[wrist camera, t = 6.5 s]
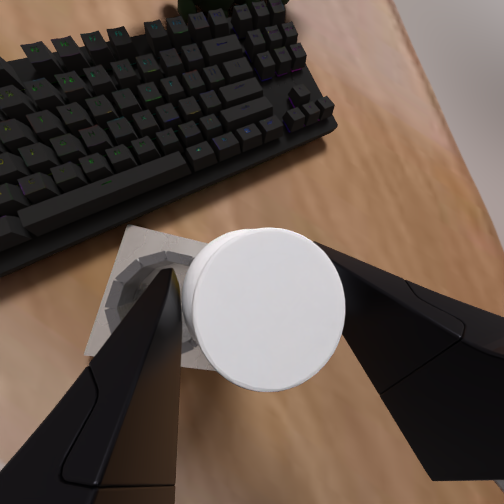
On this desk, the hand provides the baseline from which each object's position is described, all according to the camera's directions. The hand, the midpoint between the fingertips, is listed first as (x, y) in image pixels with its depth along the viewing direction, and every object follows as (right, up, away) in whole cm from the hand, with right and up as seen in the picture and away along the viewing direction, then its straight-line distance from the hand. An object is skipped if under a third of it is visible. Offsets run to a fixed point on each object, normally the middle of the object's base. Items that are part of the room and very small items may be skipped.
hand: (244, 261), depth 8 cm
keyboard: (-11, +13, +14) cm, 22 cm away
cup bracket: (-8, -4, +12) cm, 14 cm away
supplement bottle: (-1, -2, +7) cm, 7 cm away
